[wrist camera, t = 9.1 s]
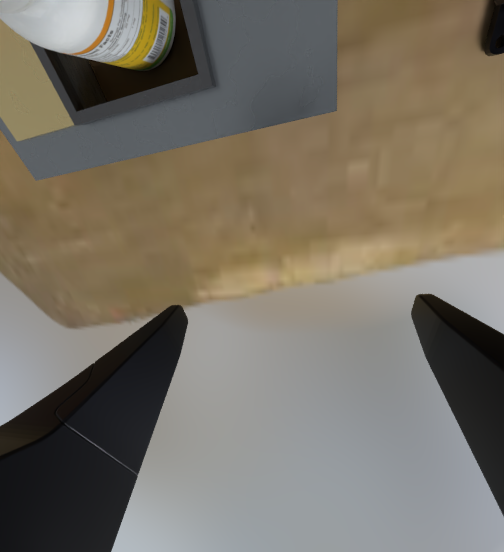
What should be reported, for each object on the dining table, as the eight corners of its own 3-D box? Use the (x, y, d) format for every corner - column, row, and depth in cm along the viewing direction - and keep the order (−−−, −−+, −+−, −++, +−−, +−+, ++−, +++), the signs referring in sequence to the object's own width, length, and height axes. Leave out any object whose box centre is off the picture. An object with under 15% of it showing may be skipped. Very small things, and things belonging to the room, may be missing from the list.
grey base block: (327, -449, 7) (349, -795, 4) (330, 110, 15) (339, 110, 12) (-116, -112, 12) (-232, -175, 9) (61, 173, 20) (26, 183, 17)
